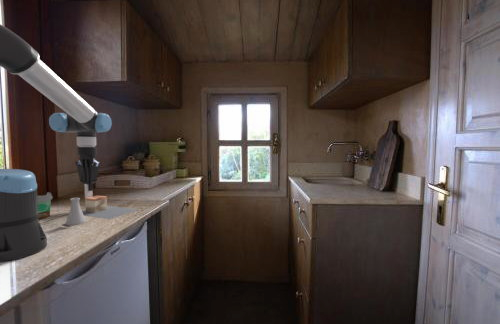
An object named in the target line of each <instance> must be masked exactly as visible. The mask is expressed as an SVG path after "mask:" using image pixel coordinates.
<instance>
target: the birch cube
mask: <svg viewBox="0 0 500 324" xmlns="http://www.w3.org/2000/svg"><path fill="white" fill-rule="evenodd" d="M84 202H85V210H86V211H88V212H95V213H96V212H99V211H103V210H107V206H108V197H107V196H105V195H93V197H88V198H85V197H84Z"/></svg>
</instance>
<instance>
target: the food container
mask: <svg viewBox="0 0 500 324" xmlns="http://www.w3.org/2000/svg"><path fill="white" fill-rule="evenodd" d="M53 198H54V197H53V195H52V192H49V191H48V192H46V194H43V195H37V199H38V221H39V220H43V219H47V218H49V217H50V216H51V200H53Z"/></svg>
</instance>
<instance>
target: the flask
mask: <svg viewBox="0 0 500 324" xmlns="http://www.w3.org/2000/svg"><path fill="white" fill-rule="evenodd" d="M69 200H70V203H71V204H70V209H69V213H68V216H67V218H66V221H65V226H69V227H72V226H78V225H82V224H86V223H87V219H86V216H84V215H83V213H82V211H83V210H82V208H81V205H80V200H81V198H80V197H72V198H70V199H69Z"/></svg>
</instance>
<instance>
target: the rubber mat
mask: <svg viewBox="0 0 500 324" xmlns="http://www.w3.org/2000/svg"><path fill="white" fill-rule="evenodd" d="M135 211H139V209H137V208H129V207H121V206H112V205H107V210H103V211H99V212H96V213H95V212H88V211H86V209H84V210H82V213H83V215H84V217H91V218H92V217H94V218H98V219H99V218H100V219H108V220H111V219H113V218H116V217H120V216H124V215H127V214H129V213H134V212H135Z"/></svg>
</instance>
